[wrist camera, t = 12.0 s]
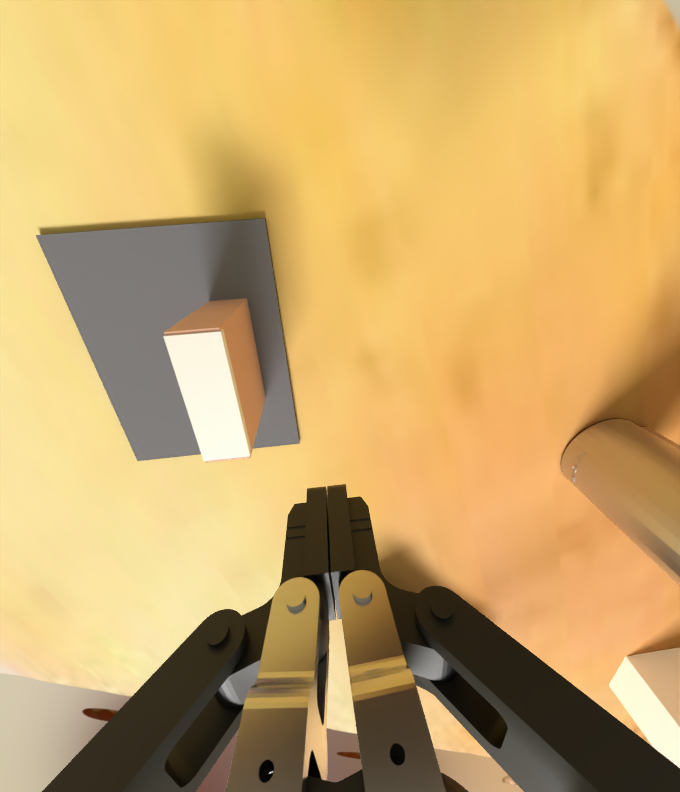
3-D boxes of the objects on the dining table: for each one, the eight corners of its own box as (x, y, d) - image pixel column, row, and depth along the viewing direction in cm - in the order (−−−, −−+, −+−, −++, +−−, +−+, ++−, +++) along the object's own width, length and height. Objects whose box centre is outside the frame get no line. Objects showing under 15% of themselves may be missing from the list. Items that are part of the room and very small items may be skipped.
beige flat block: (247, 298, 26) (219, 328, 18) (266, 397, 30) (250, 458, 22) (208, 301, 26) (162, 332, 17) (232, 400, 30) (204, 463, 22)
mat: (265, 218, 24) (264, 218, 23) (299, 441, 33) (299, 443, 32) (40, 235, 23) (35, 235, 23) (139, 458, 32) (137, 461, 32)
